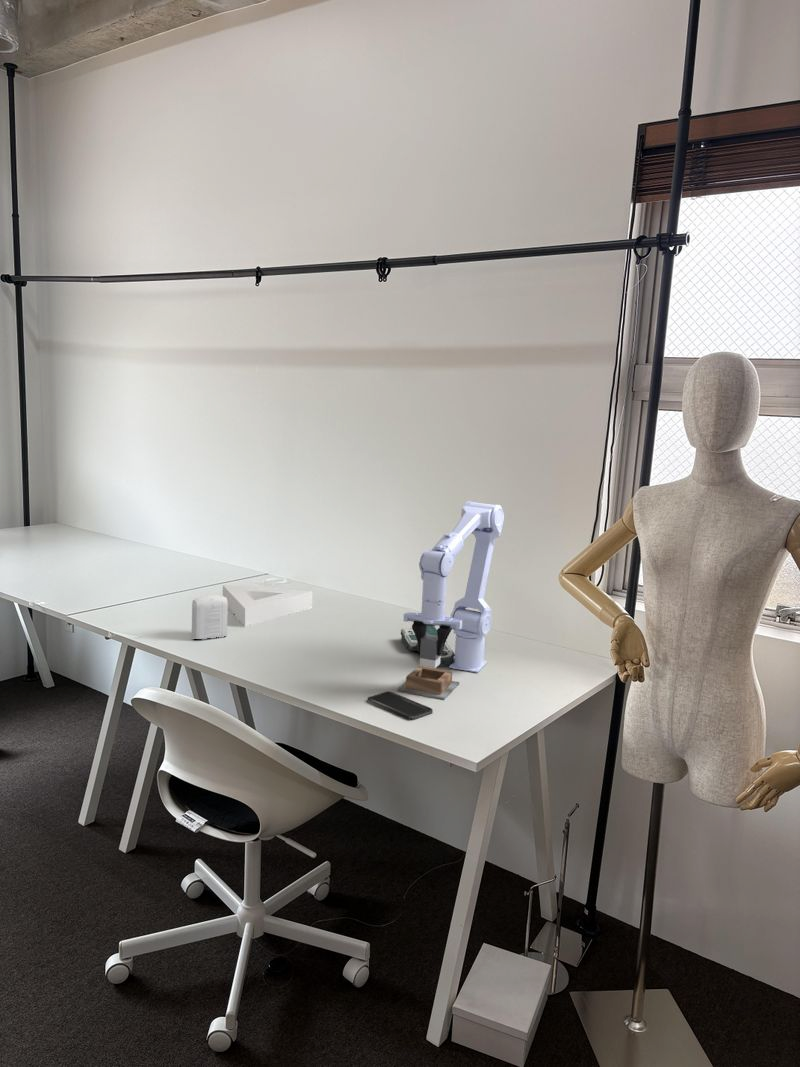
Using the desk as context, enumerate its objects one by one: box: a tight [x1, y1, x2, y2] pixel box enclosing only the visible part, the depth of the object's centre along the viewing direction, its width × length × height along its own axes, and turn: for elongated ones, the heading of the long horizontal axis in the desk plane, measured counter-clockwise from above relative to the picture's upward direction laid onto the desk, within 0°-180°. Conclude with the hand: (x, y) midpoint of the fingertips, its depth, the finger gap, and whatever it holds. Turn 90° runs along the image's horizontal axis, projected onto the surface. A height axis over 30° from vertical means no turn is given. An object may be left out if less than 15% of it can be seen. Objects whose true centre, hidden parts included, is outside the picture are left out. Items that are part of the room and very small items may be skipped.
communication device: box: [400, 624, 455, 668], centre depth 235 cm, size 12×24×9 cm, turn 13°
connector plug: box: [419, 634, 441, 669], centre depth 207 cm, size 4×4×7 cm
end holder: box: [397, 665, 460, 701], centre depth 208 cm, size 12×12×4 cm
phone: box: [366, 691, 433, 721], centre depth 196 cm, size 8×1×15 cm
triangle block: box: [222, 584, 314, 628], centre depth 263 cm, size 30×26×6 cm
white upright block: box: [191, 594, 229, 640], centre depth 239 cm, size 10×4×12 cm, turn 123°
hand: (430, 653), depth 207 cm, fingers closed on connector plug, 4 cm apart
